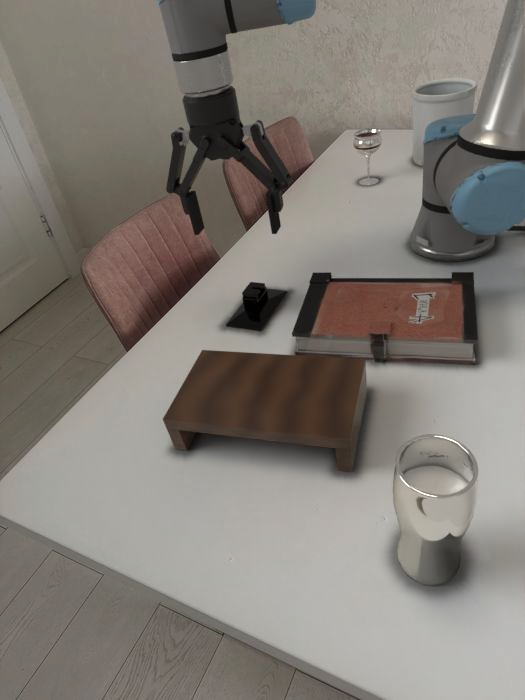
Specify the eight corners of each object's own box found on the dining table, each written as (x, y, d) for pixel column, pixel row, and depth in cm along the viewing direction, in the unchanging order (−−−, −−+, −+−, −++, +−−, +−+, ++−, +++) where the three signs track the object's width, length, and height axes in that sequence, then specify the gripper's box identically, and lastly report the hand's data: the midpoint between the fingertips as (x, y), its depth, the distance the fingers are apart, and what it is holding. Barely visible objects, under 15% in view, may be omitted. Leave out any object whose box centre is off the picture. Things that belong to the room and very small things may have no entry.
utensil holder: (478, 163, 125) (486, 86, 114) (417, 172, 126) (419, 98, 116) (460, 145, 136) (466, 74, 125) (405, 154, 138) (406, 84, 127)
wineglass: (386, 177, 128) (386, 128, 120) (376, 187, 124) (374, 137, 116) (361, 175, 131) (359, 128, 124) (350, 185, 127) (348, 137, 120)
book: (294, 358, 78) (290, 333, 75) (315, 296, 91) (312, 272, 88) (474, 368, 70) (478, 340, 67) (470, 298, 83) (473, 272, 80)
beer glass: (384, 531, 54) (382, 439, 44) (449, 520, 53) (461, 425, 44) (404, 595, 48) (407, 507, 39) (476, 584, 48) (496, 492, 38)
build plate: (261, 332, 85) (256, 310, 82) (224, 327, 88) (218, 305, 85) (288, 292, 93) (284, 270, 90) (253, 288, 96) (249, 267, 93)
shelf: (367, 391, 70) (365, 359, 66) (352, 472, 60) (349, 439, 56) (211, 379, 78) (202, 349, 74) (175, 449, 68) (162, 419, 64)
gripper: (301, 73, 67) (315, 218, 81) (141, 92, 75) (178, 221, 89) (287, 87, 62) (305, 241, 75) (117, 106, 70) (160, 242, 83)
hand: (237, 230), depth 82 cm, fingers open, 13 cm apart
